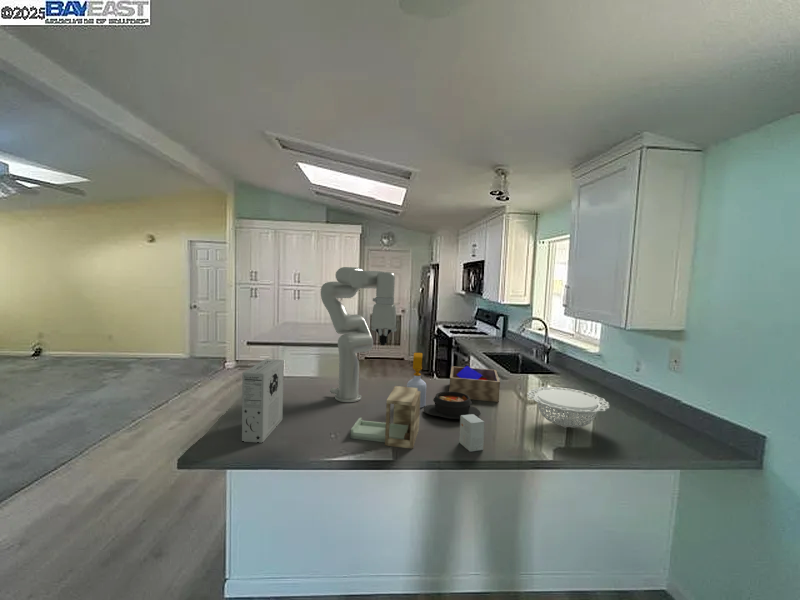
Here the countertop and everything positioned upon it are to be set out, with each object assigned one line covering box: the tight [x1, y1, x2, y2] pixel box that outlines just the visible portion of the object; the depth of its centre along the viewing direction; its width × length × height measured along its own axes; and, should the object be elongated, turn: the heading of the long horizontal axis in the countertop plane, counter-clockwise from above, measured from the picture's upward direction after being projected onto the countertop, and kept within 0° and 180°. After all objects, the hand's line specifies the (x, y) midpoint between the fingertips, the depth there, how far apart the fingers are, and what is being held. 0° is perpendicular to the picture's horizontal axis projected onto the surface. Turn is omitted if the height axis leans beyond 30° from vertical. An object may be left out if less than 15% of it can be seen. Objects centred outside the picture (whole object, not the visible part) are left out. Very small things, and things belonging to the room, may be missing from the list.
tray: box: [350, 417, 408, 443], centre depth 149 cm, size 20×12×4 cm, turn 80°
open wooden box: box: [449, 365, 501, 403], centre depth 207 cm, size 24×24×10 cm
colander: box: [526, 386, 611, 428], centre depth 163 cm, size 32×32×13 cm
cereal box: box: [241, 358, 284, 444], centre depth 148 cm, size 22×8×25 cm, turn 178°
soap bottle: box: [406, 352, 427, 409], centre depth 183 cm, size 9×9×25 cm
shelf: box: [384, 385, 421, 449], centre depth 148 cm, size 10×17×17 cm, turn 171°
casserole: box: [423, 391, 481, 420], centre depth 173 cm, size 25×19×8 cm
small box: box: [458, 414, 485, 452], centre depth 142 cm, size 8×6×10 cm
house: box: [457, 365, 487, 380], centre depth 207 cm, size 12×20×12 cm, turn 13°
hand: (383, 344), depth 166 cm, fingers closed
